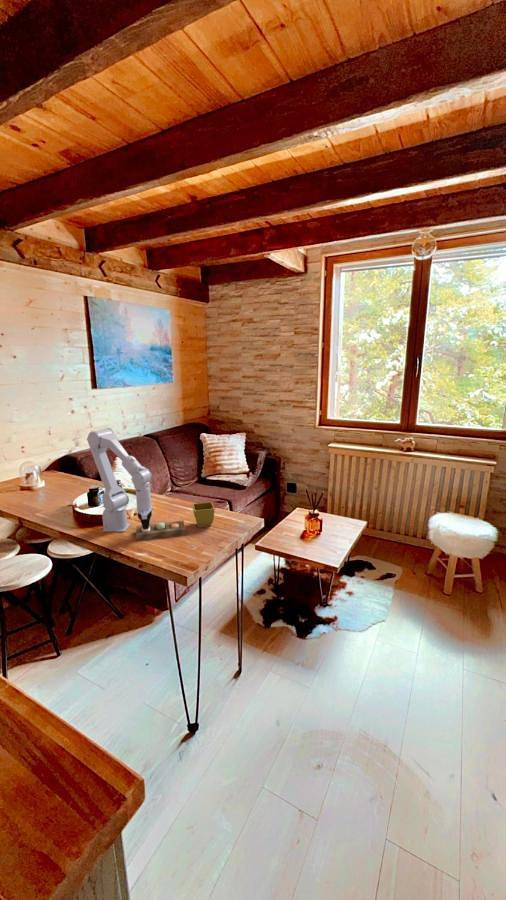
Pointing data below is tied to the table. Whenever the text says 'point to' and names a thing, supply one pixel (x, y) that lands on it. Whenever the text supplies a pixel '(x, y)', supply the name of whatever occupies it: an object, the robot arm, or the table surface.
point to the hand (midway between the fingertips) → (145, 528)
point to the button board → (160, 531)
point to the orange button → (174, 525)
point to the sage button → (160, 526)
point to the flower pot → (204, 513)
